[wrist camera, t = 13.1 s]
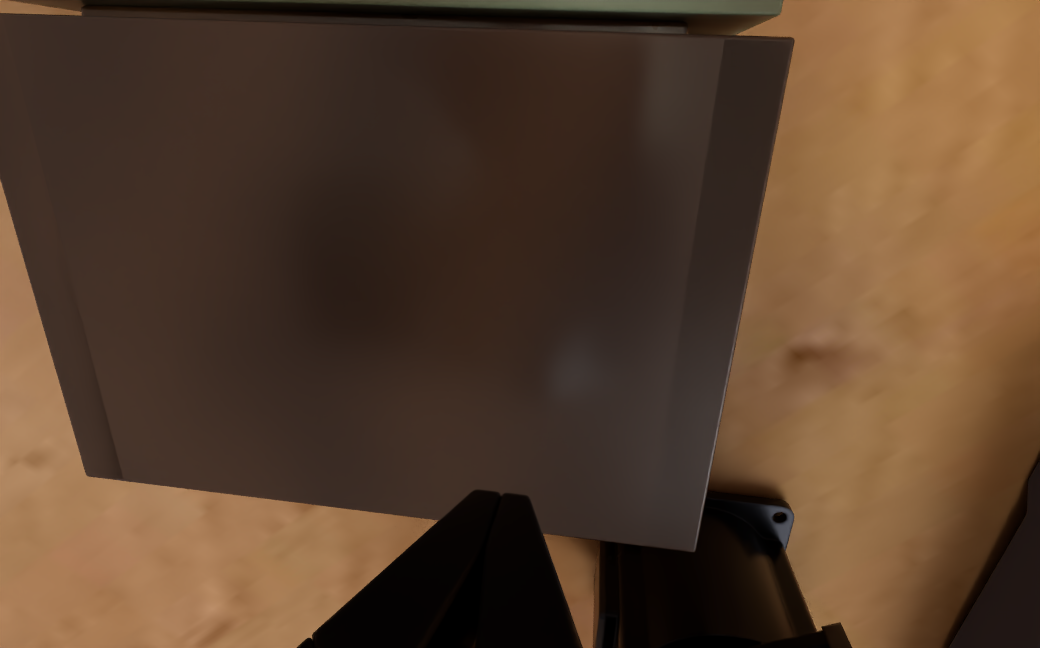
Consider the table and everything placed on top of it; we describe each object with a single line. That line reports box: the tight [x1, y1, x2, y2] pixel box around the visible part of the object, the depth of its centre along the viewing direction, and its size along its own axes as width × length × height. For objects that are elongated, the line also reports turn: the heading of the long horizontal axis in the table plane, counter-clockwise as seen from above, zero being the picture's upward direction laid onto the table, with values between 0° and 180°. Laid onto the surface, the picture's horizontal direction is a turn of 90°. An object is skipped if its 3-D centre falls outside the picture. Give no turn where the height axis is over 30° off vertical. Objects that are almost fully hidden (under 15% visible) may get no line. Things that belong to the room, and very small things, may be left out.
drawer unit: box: [0, 13, 794, 552], centre depth 15 cm, size 13×9×10 cm
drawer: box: [10, 0, 783, 35], centre depth 11 cm, size 13×10×3 cm
